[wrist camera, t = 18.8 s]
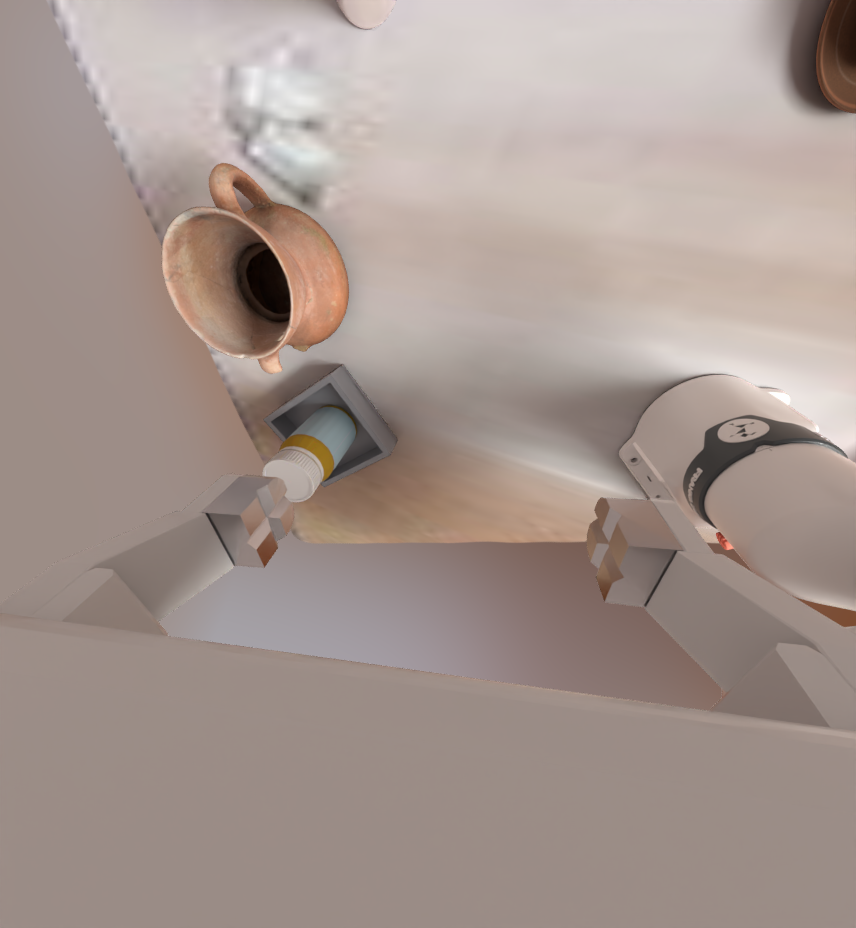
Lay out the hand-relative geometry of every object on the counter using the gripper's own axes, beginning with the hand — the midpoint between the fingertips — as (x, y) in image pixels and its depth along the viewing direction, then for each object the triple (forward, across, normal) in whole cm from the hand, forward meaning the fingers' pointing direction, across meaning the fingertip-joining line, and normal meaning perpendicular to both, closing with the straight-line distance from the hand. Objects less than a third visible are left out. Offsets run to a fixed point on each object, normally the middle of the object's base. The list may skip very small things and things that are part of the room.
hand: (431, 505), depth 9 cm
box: (+37, -20, -17) cm, 46 cm away
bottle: (+37, -20, -17) cm, 45 cm away
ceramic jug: (+38, -22, +3) cm, 44 cm away
